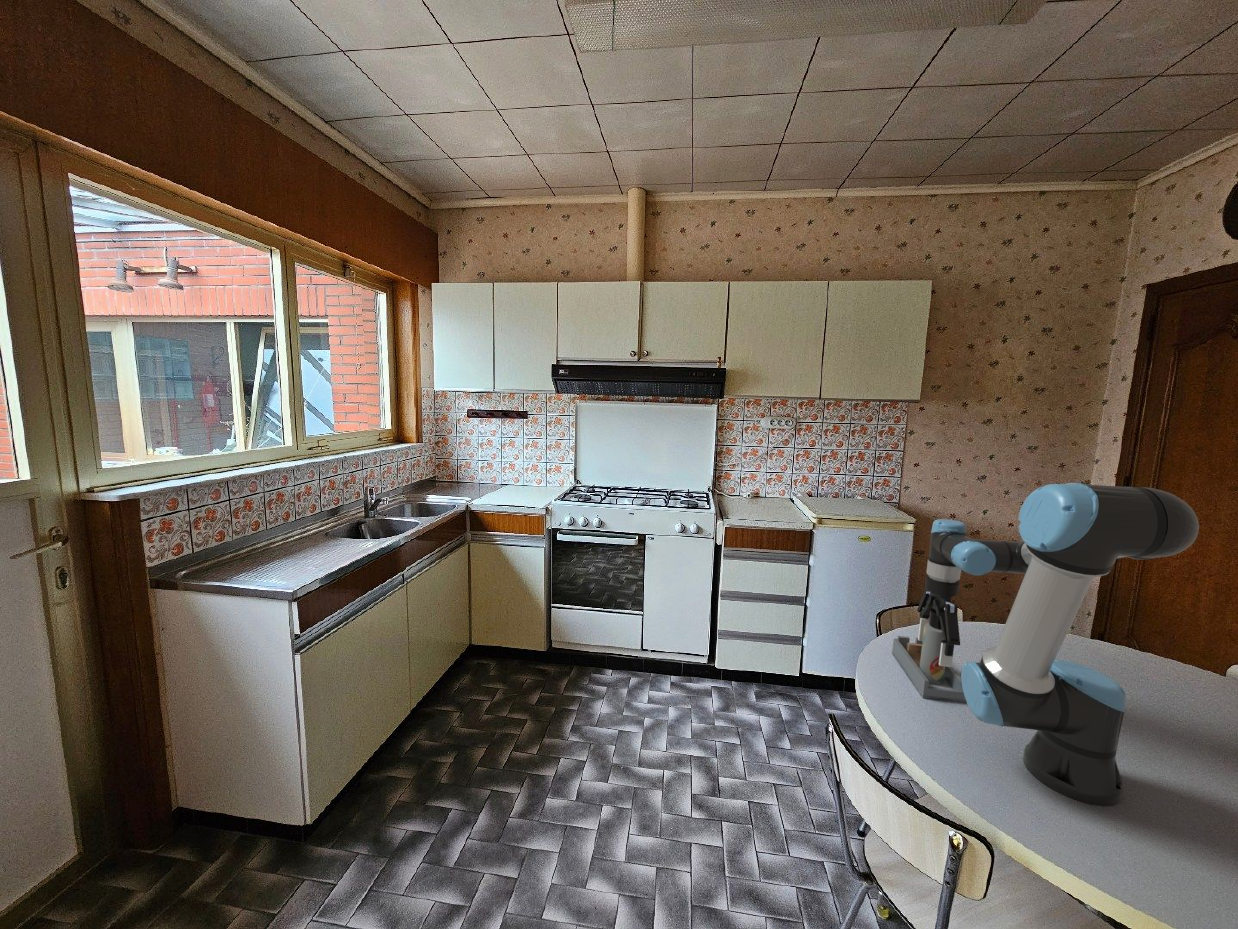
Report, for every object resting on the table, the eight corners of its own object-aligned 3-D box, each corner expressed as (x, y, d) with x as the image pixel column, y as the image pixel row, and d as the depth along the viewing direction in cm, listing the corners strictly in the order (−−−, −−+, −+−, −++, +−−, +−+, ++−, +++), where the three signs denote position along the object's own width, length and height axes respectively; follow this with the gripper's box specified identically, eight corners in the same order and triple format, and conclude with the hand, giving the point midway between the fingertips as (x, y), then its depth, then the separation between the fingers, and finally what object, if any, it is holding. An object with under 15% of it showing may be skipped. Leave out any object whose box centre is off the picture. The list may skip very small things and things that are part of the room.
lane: (965, 704, 127) (968, 682, 127) (922, 698, 129) (925, 677, 128) (928, 657, 150) (930, 639, 149) (892, 653, 152) (894, 635, 151)
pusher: (935, 667, 142) (937, 647, 141) (907, 664, 143) (909, 644, 142) (924, 654, 149) (927, 635, 148) (898, 651, 150) (900, 633, 149)
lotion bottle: (947, 685, 133) (956, 615, 131) (926, 685, 134) (934, 614, 131) (934, 674, 139) (942, 605, 136) (914, 673, 139) (921, 605, 136)
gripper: (983, 597, 119) (972, 679, 122) (937, 563, 144) (929, 633, 147) (948, 594, 121) (938, 676, 124) (909, 561, 145) (902, 630, 148)
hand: (933, 652), depth 135 cm, fingers open, 13 cm apart
